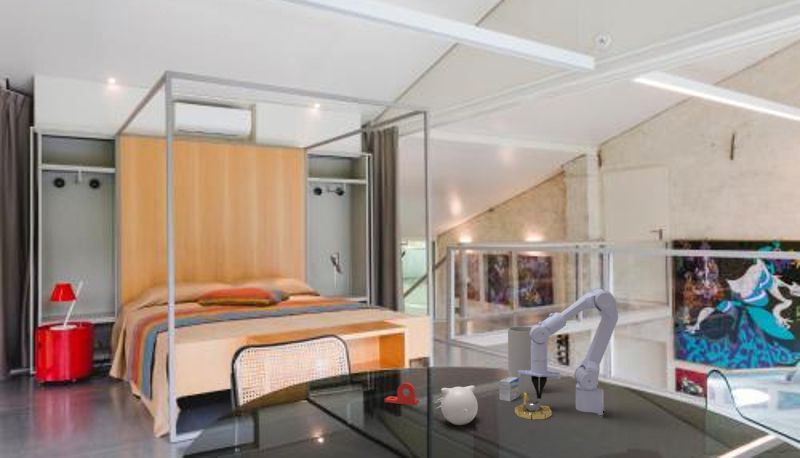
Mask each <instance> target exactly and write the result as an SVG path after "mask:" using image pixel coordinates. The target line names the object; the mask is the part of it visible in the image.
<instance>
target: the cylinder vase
mask: <svg viewBox="0 0 800 458" xmlns="http://www.w3.org/2000/svg"><path fill="white" fill-rule="evenodd" d="M532 327H533V326H511V327H508V328H507V350H508V351H507V361H508V362H507V364H508V365H507V369H508V370H507V373H508V376H507V377H516V378H519V395H524V392H529V395H534V394H536V390H535V387H534V385H533V383H532V380H531V377H522V376H521V377H518V370H531V339H532V338H531V337H530V334H529V332H530V330H531V328H532ZM539 392H540V378H539ZM536 395H537V394H536Z"/></svg>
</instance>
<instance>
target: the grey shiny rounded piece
mask: <svg viewBox="0 0 800 458" xmlns="http://www.w3.org/2000/svg"><path fill="white" fill-rule="evenodd" d="M540 405H541V402H539V401H538V400H537V401H536V400H529V401H527V402H526V410H525V411H526V412H531V413H535V411H540Z"/></svg>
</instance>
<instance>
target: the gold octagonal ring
mask: <svg viewBox="0 0 800 458" xmlns="http://www.w3.org/2000/svg"><path fill="white" fill-rule="evenodd" d="M527 401H530V394H529V392H524V394H523V403H522V404H520V405H517V406H515V407H514V413H515V414H516V415H517V416H518V417H519V418H523V419H527V420H533V421H534V420H545V419H546V420H547V419H548V418H550V417H552V411H553V410H551V408H550V406H549V405H542V404H540V411H535V413H531V412H526V402H527Z"/></svg>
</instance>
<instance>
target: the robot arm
mask: <svg viewBox="0 0 800 458" xmlns="http://www.w3.org/2000/svg"><path fill="white" fill-rule="evenodd" d="M586 309H597V311H598V313H599V315H600V317H601V318H600V321H599V324H598V326H597V327H596V328H597V329H596V331H595V334H594V337H593V338H592V341H591V343H590V346H589V349H588V350H587V354H586V356H585V357H584V359H583V360H582V361H581V363H580V365H579V366H578V367H576V369H575V370H574V379H575V381H577V382H576V384H575V409H576V410H577V411H579V412H584V413H595V414H596V415H598V416H600V415H602V414H603V415H604V413H603V411H604V412H605V405H604V404H605V403H604V401H605V400H604V399H605V398H604V396H605V395H604V389H601V388H598V385H599V374H600V372H601V371H600V369H601V368H600V364H601V362H602V359H603V358H604V355H605V352H606V351H607V347H608V345H609V343H610V340H611V338H612V335H613V333H614V330H615V328H616V325H617V323H618V319H619V314H618V313H619V312H618V308H617V300H616V298H615V296H614V295H613V294H612V293H611V292H610V291H608V290H604V289H602V288H599V287H596V288H594V289H592V290H591V291H589V292H587V293H585V294H584V295H582V296H580V298H579V299H577V300H575V302H574V303H572V304H571V305H569V306H568V307H567V308H565V309H564V310H563V311H562V312H557V311H556V312H554V313H553V312H550V313H549V316H548V317H547V318H545V319H544V320H543V321H539V322H538V324H535V325H532V326H531V327H532V328H531V330H530V332H529V334H530V337H531V338H532V339H531V370H518V377H521V376H522V377H531V380H532V383H533V385H534V387H535V390H536V399H539V400H542V394H543V391H544V388H545V385H546V384H547V381H548V379H554V380H555V379H556V380H561V372H557V371H551V370H548V344H547V343H548V341H549V339H550V337H551V336H553V335H554V334H556V333H557V332H559V331H560V330H562V329H563V328H565V327H566V326H567V321H568V320H570V319H572V318H573V317H575V316H576V315H578V314H579V313H581V312H583V311H585V310H586ZM539 378H540V392H539Z"/></svg>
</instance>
